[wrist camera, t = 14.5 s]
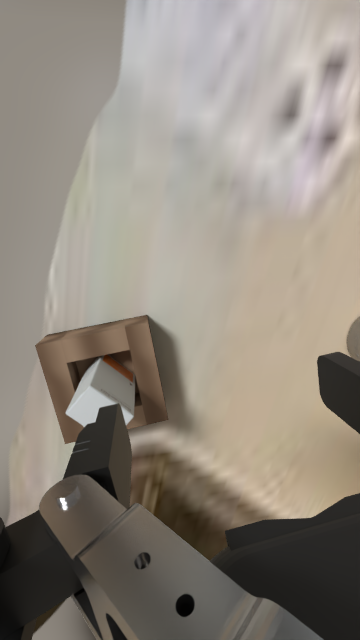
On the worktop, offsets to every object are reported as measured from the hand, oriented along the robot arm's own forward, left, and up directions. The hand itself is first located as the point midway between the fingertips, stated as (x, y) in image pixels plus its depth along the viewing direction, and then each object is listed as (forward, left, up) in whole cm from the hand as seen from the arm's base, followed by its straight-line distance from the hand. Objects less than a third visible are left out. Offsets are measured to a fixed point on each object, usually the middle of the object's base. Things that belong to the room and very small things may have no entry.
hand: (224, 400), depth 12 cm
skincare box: (+9, +9, -31) cm, 33 cm away
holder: (+10, +9, -32) cm, 34 cm away
